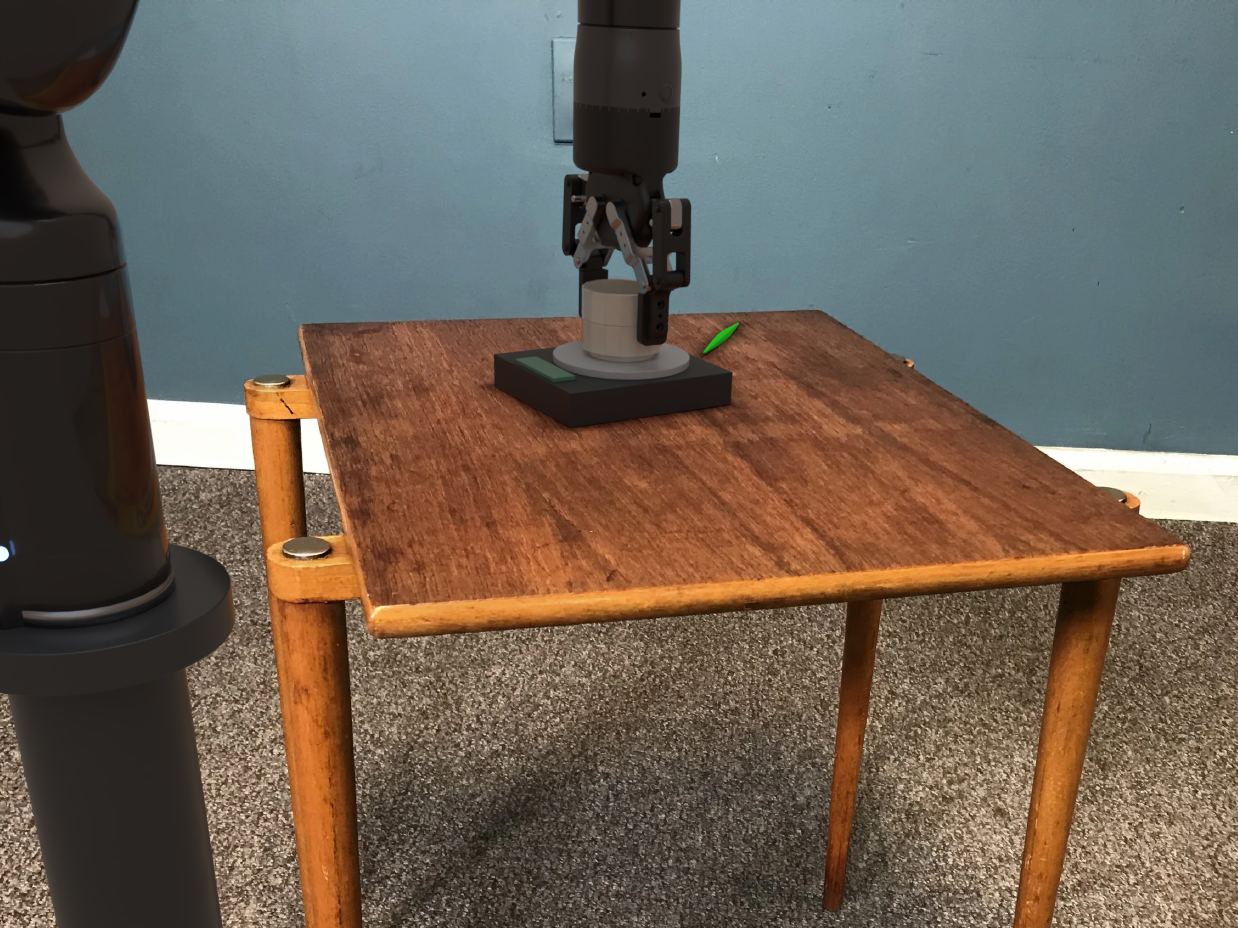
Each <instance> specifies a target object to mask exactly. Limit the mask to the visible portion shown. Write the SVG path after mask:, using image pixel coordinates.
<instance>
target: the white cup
mask: <svg viewBox="0 0 1238 928" xmlns="http://www.w3.org/2000/svg"><path fill="white" fill-rule="evenodd" d="M638 293H642V292H641V291H640V289H639V286H638V283H637V279H633V278H632V279H631V278H608V279H599V280H593V281H589V282H586V283H584V284H583V285H582V318H581V340H582V347H583V349H585V350H587V351H589V354H590V355H591V356H593V357H595V358H598V359H601V360H606V361H614V362H637V361H644V360H648V359H650V358H652V357H653V356H654V354H655V353H658V352H659V351H660V350H661V349H662V344H661V345H652V346H644V345H642V344H640V343H638V341H637V308H638Z"/></svg>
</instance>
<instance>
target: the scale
mask: <svg viewBox="0 0 1238 928" xmlns="http://www.w3.org/2000/svg"><path fill="white" fill-rule="evenodd" d="M493 379H494V380H493V382H494V387H496V388H497V389H499V390H501V391H503V392H504V393H507V394H508V395H510V396H511V397H514V398H515V399H517V400H518V401H521V402H523V403H525V404H527V405H528V406H529V407H532V408H533V409H535V410H537V411H539V412H541V413H543V414H544V415H546V416H548V417H550V418H551V419H553V420H554V421H557V422H559V423H560V424H562V425H564V426H566V427H567V428H569V429H573V428H580V427H587V426H593V425H601V424H606V423H607V424H608V423H613V422H620V421H627V420H628V421H629V420H634V419H640V418H647V417H654V416H662V415H667V414H674V413H681V412H688V411H694V410H695V411H696V410H701V409H709V408H714V407H715V408H716V407H722V406H723V407H724V406H729V405H731V404H732V391H733V371H730V370H729V369H726V368H724V367H721V366H719V365H716V364H714V363H712V362H710V361H708V360H704V359H703V358H699V357H698V356H695V355H693V354H690V353H688V352H687V351H685V350H684V349H682V348H680V347H678V346H676V345H673V344H669V343H666V342H665V343H664V344H662V349H661V350H660V351H659V352H658V353H655V354H654V356H653V357H652V358H650V359H648V360H644V361H637V362H614V361H606V360H601V359H598V358H595V357H593V356H591V355H590V354H589V351H587V350H585V349H583V347H582V339H577V340H574V341H569V342H568V341H567V342H566V343H562V344H559V345H558V346H554V347H545V348H535V349H526V350H517V351H509V352H500V353H494V354H493Z"/></svg>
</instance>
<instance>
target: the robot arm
mask: <svg viewBox="0 0 1238 928" xmlns="http://www.w3.org/2000/svg"><path fill="white" fill-rule="evenodd" d="M140 2H141V0H0V629H1V630H8V629H14V628H20V627H37V628H75V627H85V626H93V625H98V624H104V623H109V622H114V621H117V620H121V619H125V618H128V617H131V616H134V615H137V614H140V613H142V612H145V611H147V610H149V609H151V608H153V607H155V606H157V605H158V604H160V603H161V602H163V601H164V600H165V599H166V598H168V597H169V596H170V594H171V593H172V592H173V590H174V588H175V576H174V569H173V564H172V562H171V561H170V558H171V555H170V548H169V545H168V543H169V541H168V534H167V527H166V520H165V514H164V506H163V505H164V504H163V499H162V492H161V486H160V479H159V472H158V466H157V465H158V464H157V459H156V458H157V457H156V451H155V444H154V437H153V430H152V423H151V417H150V416H151V415H150V411H149V410H150V409H149V403H148V396H147V389H146V383H145V376H144V370H143V369H144V368H143V361H142V356H141V349H140V341H139V335H138V328H137V327H138V326H137V321H136V320H137V319H136V313H135V307H134V299H133V292H132V285H131V279H130V272H129V266H128V265H129V264H128V254H127V247H126V241H125V234H124V229H123V223H122V218H121V216H120V213H119V210H118V208H117V206H116V205H115V204H114V202H113V200H112V199H111V198H110V197H109V196H108V195H107V194H106V193H105V192H104V191H103V190H102V189H101V188H100V187H99V186H97V184H96V183H95V182H94V181H93V179H92V178H90V176H89V175H88V174H87V172H86V171H85V169H84V168H83V166H82V165H81V163H80V161H79V160H78V158H77V156H76V154H75V152H74V150H73V148H72V145H71V144H70V140H69V138H68V134H67V129H66V124H65V121H64V117H63V114H64V113H67V112H70V111H72V110H74V109H76V108H78V107H80V106H81V105H83V104H84V103H86V101H88V100H89V99H90V98H91V97H92V96H93V95H95V94H96V93H97V92H99V90H100V89H101V88H102V87H103V85H104V84H105V82H106V81H107V79H108V78H109V76H110V75H111V73H112V72H113V71H114V69H115V67H116V65H117V64H118V62H119V59H120V57H121V55H122V53H123V50H124V48H125V46H126V43H127V41H128V38H129V36H130V32H131V29H132V26H133V24H134V21H135V18H136V15H137V12H138V9H139V5H140ZM681 7H682V0H577V18H576V19H577V23H578V24H577V25H576V26H577V27H576V28H577V29H576V39H575V45H574V53H573V67H572V68H573V71H572V72H573V73H572V74H573V77H572V80H573V82H572V85H573V87H572V92H573V93H572V162H573V164H574V166H575V167H576V168H577V169H579V170H581V171H584V172H588V173H569V174H565V175H564V179H563V198H562V199H563V200H562V228H561V229H562V232H561V233H562V234H561V235H562V236H561V251H562V254H563V255H564V256H565V257H570V256H571V258H573V259H572V261H573V266H574V268H575V269H577V270H578V317H579V318H580V319H582V285H583V284H584V283H586V282H589V281H593V280H599V279H609V269H607V268H606V267H607V266H608V264H609V263H610V260H611V258H612V256H613V254H614V252H615V250H616V251H619V252H621V254H622V257H623V261H624V263H625V264H626V265H627V266H628V267H631V268H632V270H633V273H634V276H635V280H637V283H638V286H639V289H640V291H641V292H642V293H638V308H637V341H638V343H640V344H642V345H644V346H652V345H661V344H664V343H666V342H667V340H668V333H669V317H670V316H669V315H670V296H671V293H672V292H673V291H675V290H677V289H681V288H688V287H689V286H690V284H691V271H692V270H691V267H692V266H691V263H692V261H691V260H692V259H691V258H692V203H691V200H690V199H689V198H687V197H683V198H682V197H680V198H679V197H672V198H666V195H665V189H664V178H665V177H666V176H667V174H668V175H669V174H672V173H674V172H675V171H676V170H677V169H678V166H679V149H680V128H681V127H680V125H681V97H682V78H683V77H682V75H683V62H682V59H683V58H682V48H681V33H680V32H681V30H680V29H679V28H680V27H681V10H682V9H681ZM578 224H580V226H579V229H578V231H577V234H576V227H577V225H578ZM576 237H577V238H576ZM651 244H652V246H650V245H651ZM673 253H674V254H675V269H674V270H673V267H672V264H671V260H670V257H671V255H672V254H673ZM648 265H652V266H651V267H652V269H651V270H652V271H651V272H652V273H651V272H650V269H649V266H648Z"/></svg>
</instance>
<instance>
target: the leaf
mask: <svg viewBox="0 0 1238 928" xmlns="http://www.w3.org/2000/svg"><path fill="white" fill-rule="evenodd" d="M740 323H741V321H739V322H737V323H735V324H733V325H730V326H729V327H727V328H724V329H723V330H722V331H720V332H719V333H718V334H716V335H715V337H714V338H712V340H711V341H710V343H708V345H707V346H706V348H705V349H704V350H703V352H702V353H701V356H703V355H705V354H707V353H709V352H710V351H713V350H714V349H716V348H717V347H719V346H721V345H722V344H724V343H725V342H726V341H727V340H729V338H730V337H731V336H732V335H733V333H734V332H735V331H736V329H737V328H738V327H739V325H740Z"/></svg>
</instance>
